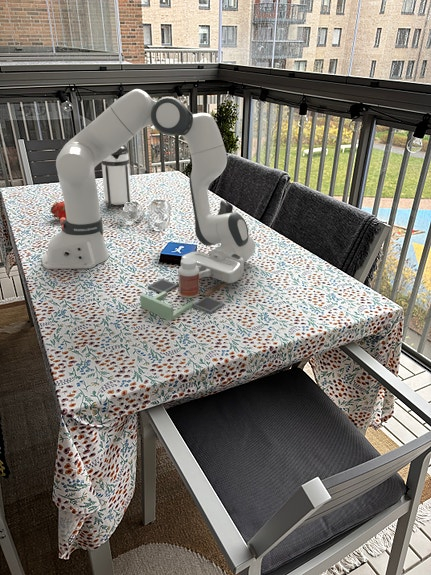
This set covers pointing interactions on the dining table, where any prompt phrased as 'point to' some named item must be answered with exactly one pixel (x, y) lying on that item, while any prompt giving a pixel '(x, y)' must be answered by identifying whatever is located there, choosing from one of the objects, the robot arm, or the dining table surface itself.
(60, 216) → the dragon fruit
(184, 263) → the pill bottle
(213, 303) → the trap pits
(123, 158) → the coffee press
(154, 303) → the light green u-shaped piece
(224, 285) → the walnut track
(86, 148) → the robot arm
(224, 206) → the phone stand
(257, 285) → the dining table surface
